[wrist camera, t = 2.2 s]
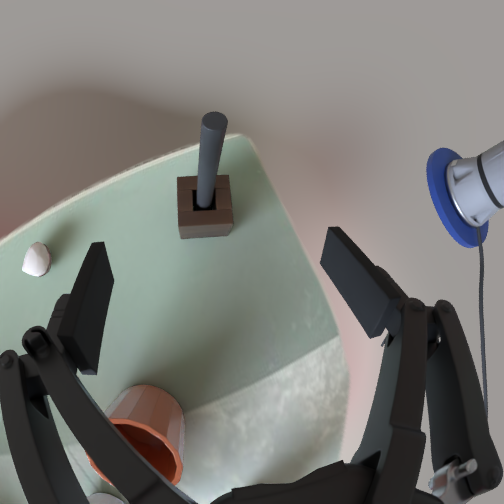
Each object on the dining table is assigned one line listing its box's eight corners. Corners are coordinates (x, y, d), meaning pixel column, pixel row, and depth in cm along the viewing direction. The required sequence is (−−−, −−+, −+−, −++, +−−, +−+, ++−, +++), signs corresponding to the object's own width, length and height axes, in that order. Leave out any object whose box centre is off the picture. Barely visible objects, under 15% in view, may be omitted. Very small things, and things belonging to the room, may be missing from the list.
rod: (211, 217, 33) (232, 125, 16) (199, 223, 32) (208, 134, 15) (205, 206, 33) (220, 108, 16) (193, 212, 32) (197, 116, 15)
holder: (227, 236, 33) (233, 223, 28) (180, 239, 31) (178, 226, 27) (223, 192, 34) (228, 174, 29) (178, 195, 32) (177, 176, 28)
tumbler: (198, 429, 27) (202, 478, 17) (142, 454, 25) (126, 503, 14) (158, 372, 28) (141, 403, 17) (102, 400, 25) (67, 434, 15)
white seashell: (58, 270, 27) (49, 267, 25) (31, 286, 26) (21, 284, 24) (49, 239, 28) (40, 234, 25) (23, 256, 26) (13, 252, 24)
